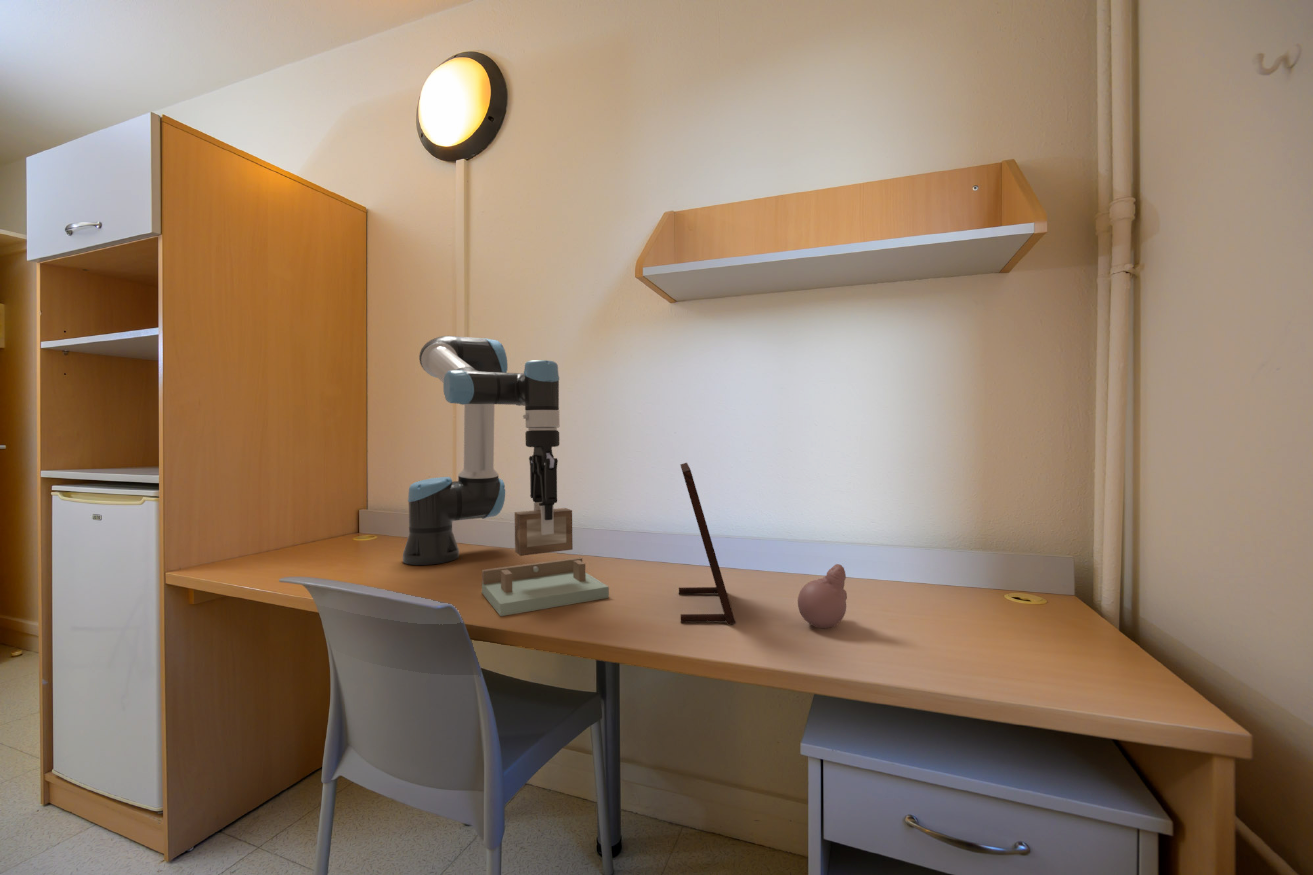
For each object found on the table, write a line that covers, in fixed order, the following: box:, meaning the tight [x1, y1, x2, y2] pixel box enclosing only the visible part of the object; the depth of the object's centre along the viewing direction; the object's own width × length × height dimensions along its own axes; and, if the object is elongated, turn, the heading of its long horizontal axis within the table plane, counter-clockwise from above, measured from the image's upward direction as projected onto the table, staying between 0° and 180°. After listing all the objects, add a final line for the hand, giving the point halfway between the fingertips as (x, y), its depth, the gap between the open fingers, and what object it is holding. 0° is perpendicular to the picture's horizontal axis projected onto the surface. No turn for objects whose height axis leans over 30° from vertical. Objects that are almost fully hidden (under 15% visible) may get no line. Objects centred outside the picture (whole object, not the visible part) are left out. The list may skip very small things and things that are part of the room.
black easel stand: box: [678, 462, 736, 626], centre depth 117 cm, size 21×11×30 cm, turn 179°
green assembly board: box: [481, 556, 610, 617], centre depth 127 cm, size 18×24×6 cm
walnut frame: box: [514, 507, 573, 557], centre depth 126 cm, size 5×12×9 cm, turn 119°
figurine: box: [797, 563, 848, 629], centre depth 107 cm, size 9×11×12 cm
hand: (543, 531), depth 126 cm, fingers closed on walnut frame, 5 cm apart
